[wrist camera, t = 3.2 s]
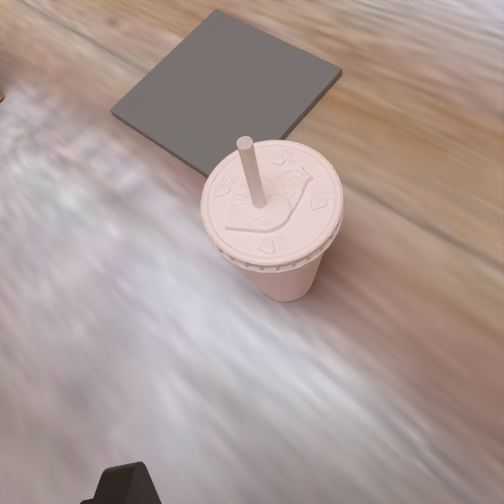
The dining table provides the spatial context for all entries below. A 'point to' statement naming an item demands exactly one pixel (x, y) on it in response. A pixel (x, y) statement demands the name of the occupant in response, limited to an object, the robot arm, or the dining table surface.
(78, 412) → the dining table surface
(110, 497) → the robot arm
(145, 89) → the coaster
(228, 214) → the smoothie
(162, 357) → the dining table surface
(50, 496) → the dining table surface
